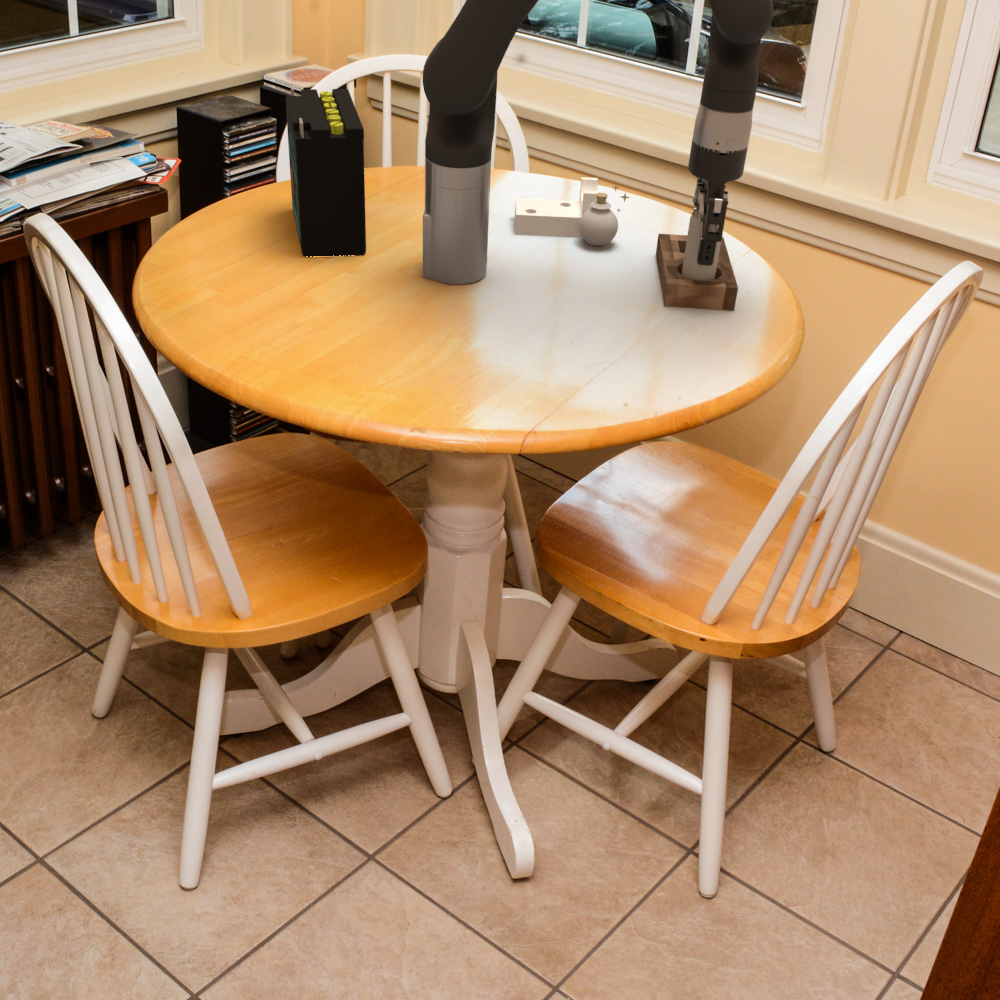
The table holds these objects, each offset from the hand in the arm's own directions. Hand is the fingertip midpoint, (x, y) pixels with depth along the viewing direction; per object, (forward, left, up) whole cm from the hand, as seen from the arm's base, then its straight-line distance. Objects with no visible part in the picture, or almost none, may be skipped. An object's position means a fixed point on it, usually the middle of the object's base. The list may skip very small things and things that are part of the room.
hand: (701, 252), depth 160 cm
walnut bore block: (0, +4, -6) cm, 8 cm away
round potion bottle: (-13, +16, -7) cm, 22 cm away
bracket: (-21, +21, -7) cm, 31 cm away
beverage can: (0, 0, -7) cm, 7 cm away
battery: (-56, +14, -7) cm, 58 cm away
